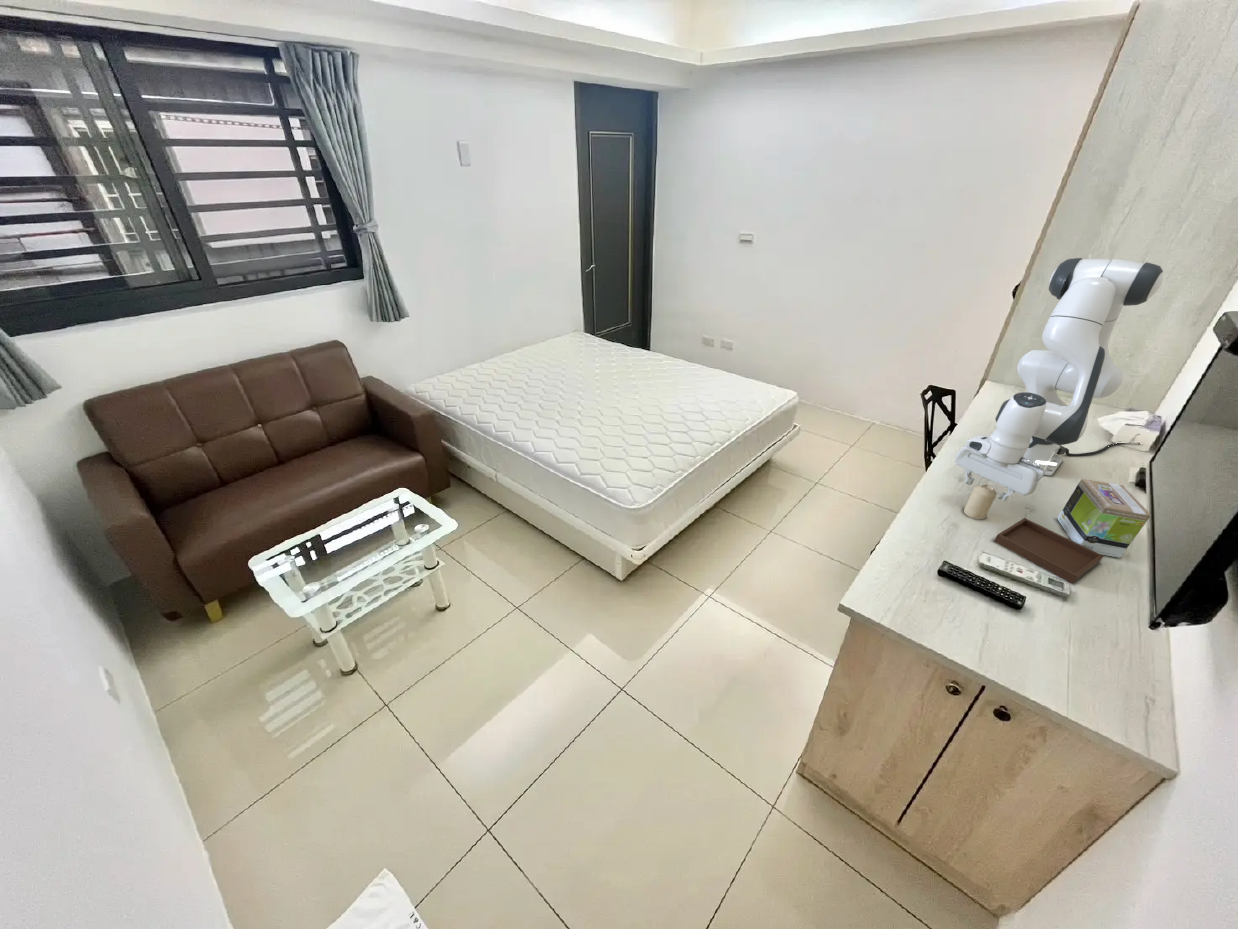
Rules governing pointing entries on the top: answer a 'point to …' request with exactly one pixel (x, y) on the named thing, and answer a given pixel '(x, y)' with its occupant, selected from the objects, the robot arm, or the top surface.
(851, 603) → the top surface
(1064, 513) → the tea box
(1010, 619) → the top surface
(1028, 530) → the tray
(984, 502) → the candle
